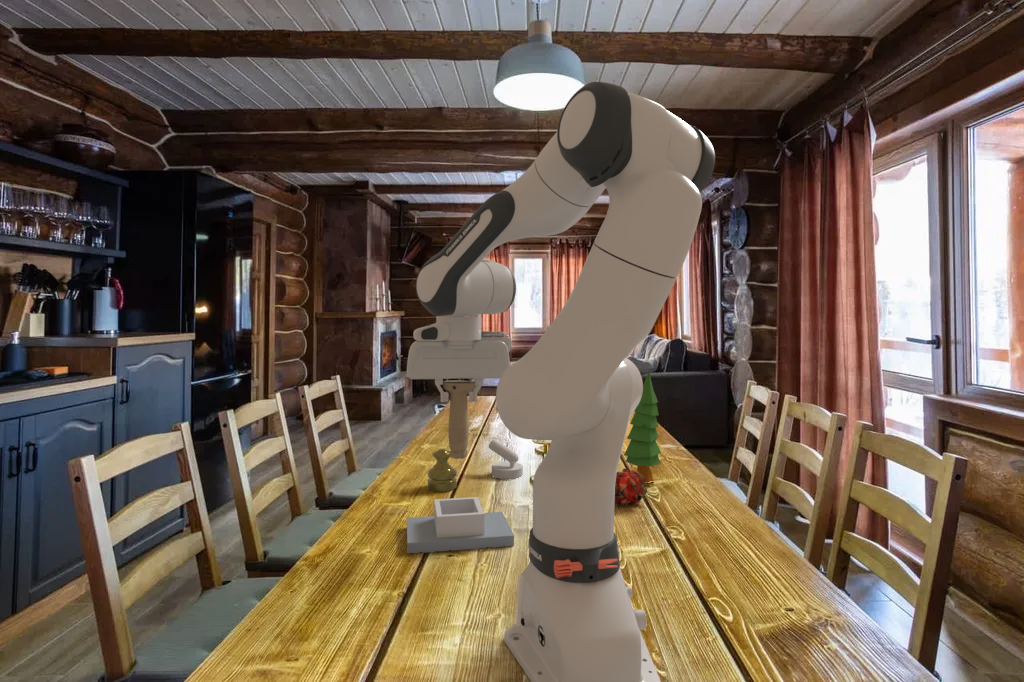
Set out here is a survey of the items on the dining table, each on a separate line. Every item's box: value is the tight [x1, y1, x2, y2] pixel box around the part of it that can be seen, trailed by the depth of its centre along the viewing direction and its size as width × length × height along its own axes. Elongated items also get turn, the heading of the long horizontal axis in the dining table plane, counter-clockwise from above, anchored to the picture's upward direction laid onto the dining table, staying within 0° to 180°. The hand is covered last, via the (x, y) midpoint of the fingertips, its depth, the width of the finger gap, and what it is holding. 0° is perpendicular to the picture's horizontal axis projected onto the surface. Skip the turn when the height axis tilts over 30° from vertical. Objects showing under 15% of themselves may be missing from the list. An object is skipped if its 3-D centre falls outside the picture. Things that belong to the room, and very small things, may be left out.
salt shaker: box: [427, 448, 458, 493], centre depth 139 cm, size 7×7×10 cm
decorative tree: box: [623, 370, 662, 482], centre depth 146 cm, size 10×9×30 cm
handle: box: [442, 379, 476, 460], centre depth 108 cm, size 5×6×15 cm
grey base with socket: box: [406, 496, 515, 554], centre depth 109 cm, size 13×20×6 cm, turn 101°
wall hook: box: [488, 438, 524, 480], centre depth 151 cm, size 9×10×10 cm
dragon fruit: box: [615, 468, 648, 506], centre depth 129 cm, size 8×8×12 cm
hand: (458, 401), depth 107 cm, fingers closed on handle, 4 cm apart
